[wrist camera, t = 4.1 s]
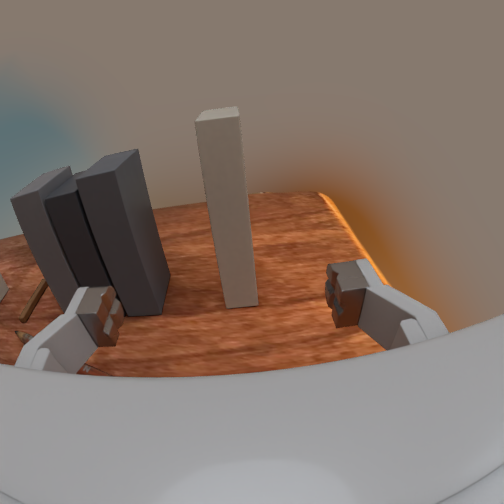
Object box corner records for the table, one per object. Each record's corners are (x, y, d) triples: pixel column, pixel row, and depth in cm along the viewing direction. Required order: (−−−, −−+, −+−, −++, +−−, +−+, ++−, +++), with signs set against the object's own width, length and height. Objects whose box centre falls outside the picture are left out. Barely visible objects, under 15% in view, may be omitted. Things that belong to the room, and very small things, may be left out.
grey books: (161, 314, 23) (114, 170, 16) (67, 318, 23) (9, 198, 16) (170, 274, 27) (138, 148, 20) (85, 282, 27) (42, 173, 20)
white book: (258, 305, 23) (239, 115, 15) (226, 309, 23) (194, 120, 15) (254, 267, 27) (237, 106, 19) (226, 269, 27) (202, 110, 19)
